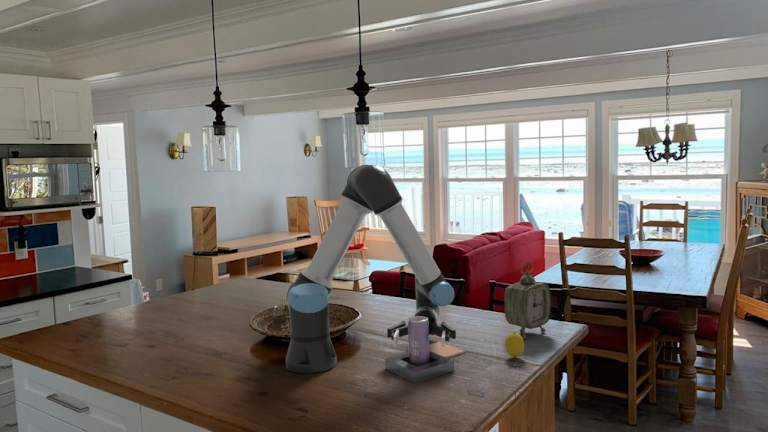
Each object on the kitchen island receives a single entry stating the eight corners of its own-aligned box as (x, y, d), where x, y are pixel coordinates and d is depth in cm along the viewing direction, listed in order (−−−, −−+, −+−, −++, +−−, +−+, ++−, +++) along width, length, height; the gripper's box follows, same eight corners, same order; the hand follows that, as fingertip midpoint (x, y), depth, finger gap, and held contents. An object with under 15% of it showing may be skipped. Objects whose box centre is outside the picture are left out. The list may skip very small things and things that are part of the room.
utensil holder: (269, 337, 194) (267, 304, 193) (276, 332, 200) (275, 299, 199) (284, 338, 192) (283, 304, 191) (292, 333, 198) (290, 300, 197)
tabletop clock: (524, 342, 181) (524, 266, 179) (502, 336, 188) (502, 263, 186) (550, 332, 190) (550, 260, 188) (528, 327, 197) (528, 257, 195)
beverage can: (433, 368, 160) (432, 317, 159) (423, 375, 155) (422, 322, 154) (415, 364, 163) (414, 314, 162) (405, 371, 158) (403, 319, 157)
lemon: (511, 362, 163) (510, 335, 162) (502, 356, 168) (501, 330, 168) (527, 360, 165) (527, 333, 164) (518, 354, 170) (518, 328, 169)
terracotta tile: (435, 361, 165) (435, 359, 165) (410, 351, 175) (410, 349, 175) (465, 352, 172) (465, 350, 172) (439, 343, 182) (439, 341, 182)
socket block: (415, 383, 149) (415, 372, 149) (385, 368, 161) (385, 358, 161) (454, 370, 158) (453, 360, 157) (422, 357, 169) (422, 348, 169)
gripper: (464, 333, 175) (463, 356, 155) (386, 331, 179) (375, 353, 158) (464, 309, 175) (463, 329, 154) (386, 308, 179) (374, 328, 158)
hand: (418, 341), depth 156 cm, fingers open, 13 cm apart
